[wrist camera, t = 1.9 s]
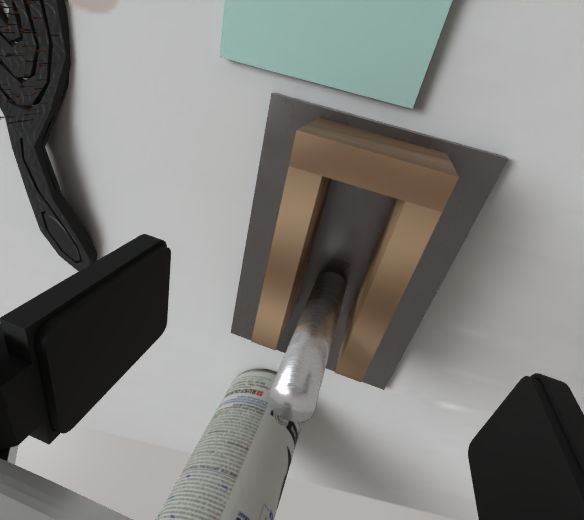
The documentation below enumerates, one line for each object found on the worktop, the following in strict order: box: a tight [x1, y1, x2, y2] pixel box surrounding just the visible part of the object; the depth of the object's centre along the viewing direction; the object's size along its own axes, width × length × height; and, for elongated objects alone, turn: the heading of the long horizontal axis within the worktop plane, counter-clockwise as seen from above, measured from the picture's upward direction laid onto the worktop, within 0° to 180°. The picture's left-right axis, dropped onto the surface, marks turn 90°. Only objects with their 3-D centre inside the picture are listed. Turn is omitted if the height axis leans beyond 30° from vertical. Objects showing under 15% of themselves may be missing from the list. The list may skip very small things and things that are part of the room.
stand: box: [231, 93, 508, 422], centre depth 18 cm, size 17×12×10 cm
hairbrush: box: [0, 0, 97, 271], centre depth 22 cm, size 8×4×25 cm
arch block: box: [251, 118, 459, 382], centre depth 19 cm, size 12×7×4 cm, turn 167°
